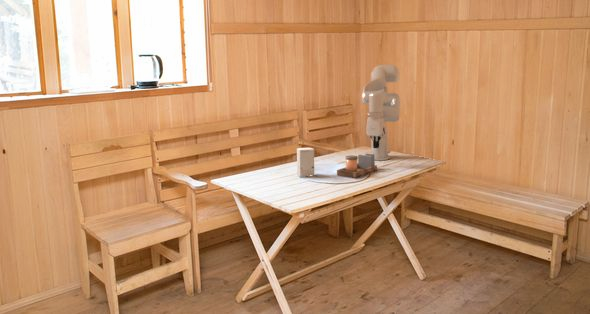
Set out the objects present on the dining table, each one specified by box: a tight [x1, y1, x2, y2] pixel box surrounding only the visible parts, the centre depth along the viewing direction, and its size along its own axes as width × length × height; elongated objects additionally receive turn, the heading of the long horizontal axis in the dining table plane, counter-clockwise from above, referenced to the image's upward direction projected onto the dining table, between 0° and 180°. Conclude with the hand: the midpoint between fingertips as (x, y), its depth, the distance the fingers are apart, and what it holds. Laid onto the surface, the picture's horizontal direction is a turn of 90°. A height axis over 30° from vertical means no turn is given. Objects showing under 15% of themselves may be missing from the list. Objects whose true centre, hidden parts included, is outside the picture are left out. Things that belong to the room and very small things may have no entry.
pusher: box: [357, 152, 376, 168], centre depth 308 cm, size 6×8×7 cm
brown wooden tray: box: [336, 162, 378, 179], centre depth 302 cm, size 20×12×3 cm, turn 138°
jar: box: [345, 154, 358, 172], centre depth 297 cm, size 6×6×9 cm
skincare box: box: [296, 147, 315, 178], centre depth 300 cm, size 8×6×15 cm
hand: (376, 147), depth 312 cm, fingers closed
